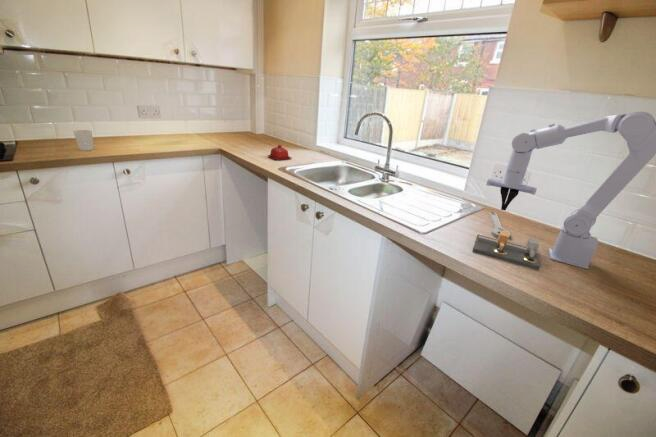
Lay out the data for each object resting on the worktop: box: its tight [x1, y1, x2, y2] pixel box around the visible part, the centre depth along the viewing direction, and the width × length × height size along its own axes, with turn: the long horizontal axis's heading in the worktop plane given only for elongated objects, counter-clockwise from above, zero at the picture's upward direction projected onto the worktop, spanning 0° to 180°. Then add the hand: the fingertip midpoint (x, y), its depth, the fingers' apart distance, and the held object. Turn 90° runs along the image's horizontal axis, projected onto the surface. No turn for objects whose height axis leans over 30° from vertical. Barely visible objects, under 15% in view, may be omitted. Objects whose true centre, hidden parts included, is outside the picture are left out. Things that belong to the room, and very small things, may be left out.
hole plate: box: [472, 234, 541, 271], centre depth 98 cm, size 18×12×5 cm, turn 60°
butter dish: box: [267, 144, 292, 161], centre depth 191 cm, size 12×12×8 cm
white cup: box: [73, 129, 95, 152], centre depth 174 cm, size 8×8×10 cm
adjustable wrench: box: [488, 211, 512, 240], centre depth 119 cm, size 25×6×2 cm, turn 157°
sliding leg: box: [497, 230, 510, 251], centre depth 99 cm, size 2×8×4 cm, turn 150°
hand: (503, 209), depth 108 cm, fingers closed
